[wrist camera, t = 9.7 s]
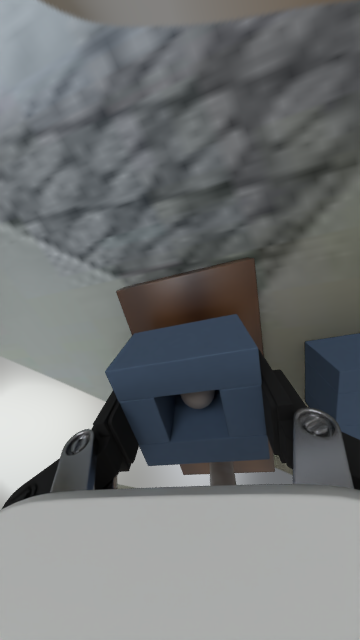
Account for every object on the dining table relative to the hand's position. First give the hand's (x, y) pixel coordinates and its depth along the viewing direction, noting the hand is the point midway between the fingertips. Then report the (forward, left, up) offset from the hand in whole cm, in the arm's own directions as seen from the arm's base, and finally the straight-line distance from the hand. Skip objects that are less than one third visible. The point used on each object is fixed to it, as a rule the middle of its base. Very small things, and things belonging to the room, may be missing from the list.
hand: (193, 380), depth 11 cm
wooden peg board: (0, +5, -5) cm, 7 cm away
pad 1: (0, 0, -1) cm, 1 cm away
